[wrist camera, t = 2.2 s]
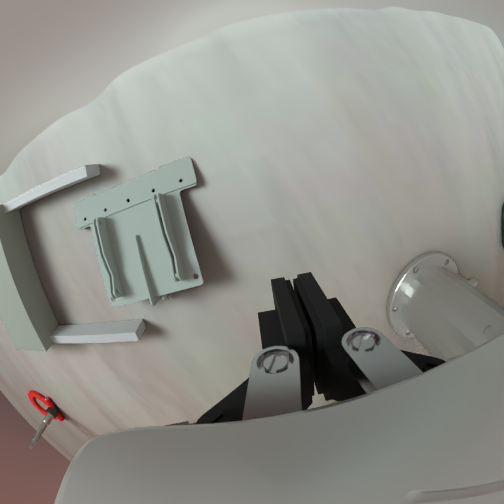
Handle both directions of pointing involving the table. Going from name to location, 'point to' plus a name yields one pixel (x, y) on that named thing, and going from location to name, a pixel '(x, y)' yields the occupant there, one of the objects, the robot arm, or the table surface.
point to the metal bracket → (143, 235)
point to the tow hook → (50, 414)
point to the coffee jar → (503, 225)
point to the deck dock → (30, 288)
